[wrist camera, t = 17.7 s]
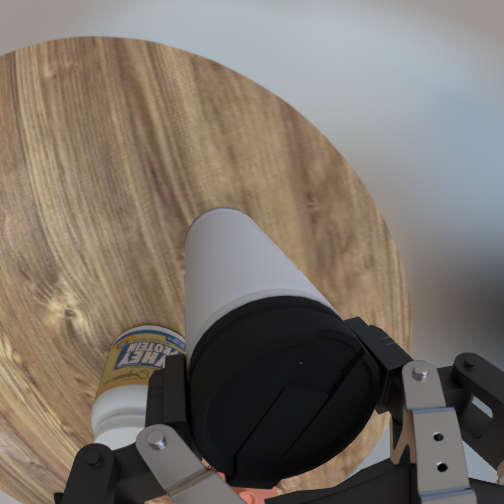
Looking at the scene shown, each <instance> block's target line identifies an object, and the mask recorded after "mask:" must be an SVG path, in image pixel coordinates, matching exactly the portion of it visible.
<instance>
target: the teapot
mask: <svg viewBox="0 0 504 504" xmlns="http://www.w3.org/2000/svg"><path fill="white" fill-rule="evenodd" d="M217 473H218V474H219V475H220V477H221V478H222V479H223V480H224V481H225V476H224V474H223V473H221V472H217ZM225 482H226V481H225ZM231 488H232V489H233V490H234V491H235V492H236V493H237V494H238V495H239V496H240V497H242V498H243V499H244V500H245V501H246V502H247V503H248V504H265V503H264V499H267V498H271V497H275V496H278V493H277V490H276V487H273V488H272V489H271V490H269V489H251V488H240V487H231Z"/></svg>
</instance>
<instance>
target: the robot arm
mask: <svg viewBox="0 0 504 504" xmlns="http://www.w3.org/2000/svg"><path fill="white" fill-rule="evenodd" d="M344 322H345V323H346V325H347V326H348V327H349V328H350V329H351V330H352V331H353V332H354V333H355V335H356V336H357V337H358V339H359V340H360V341H361V343H362V344H363V345H364V347H365V348H366V350H367V351H368V352H369V354H370V355H371V356H372V358H373V359H374V360H375V361H376V362H377V364H378V368H379V373H380V391H379V396H378V400H377V404H376V406H375V408H374V409H375V410H376V412H377V413H378V415H379V414H382V413H384V412H387V411H389V412H390V414H391V417H390V458H388V459H386V460H384V461H381V462H379V463H377V464H374V465H372V466H369V467H367V468H365V469H362V470H360V471H359V472H357V473H356V474H354V475H353V476H351V477H350V478H348V479H347V480H345V481H343V482H342V483H340V484H339V485H337V486H335V487H332V488H325V489H316V490H304V491H295V492H292V493H288V494H284V495H280V496H275V497H271V498H267V499H264V503H265V504H504V372H503V371H501V370H500V369H498V368H497V367H496V366H494V365H493V364H491V363H489V362H488V361H486V360H485V359H484V358H482V357H481V356H479V355H477V354H474V353H462V354H459V355H458V356H457V357H456V358H455V361H454V364H453V366H448V367H442V368H436V367H435V366H434V365H432V364H431V363H429V362H427V361H422V360H413V359H412V358H411V357H410V356H409V355H408V354H407V353H406V352H405V351H404V350H403V349H402V348H401V347H400V346H399V345H398V344H397V343H395V341H394V340H393V339H392V338H391V337H390V338H389V336H388V335H387V334H386V333H385V332H384V331H383V330H382V329H380V328H378V327H376V326H374V325H369V326H368V325H367V324H366V323H365V322H364V321H363V320H362V319H361V318H360V317H354V318H351V319H347V320H344ZM474 396H475V397H477V398H478V399H479V400H480V401H482V402H483V403H485V404H486V405H487V406H488V407H489V408H490V409H491V410H492V414H493V417H492V418H490V417H489V416H488V415H487V414H485V413H484V412H483V411H482V410H481V409H479V408H478V407H477V406H476V405H474V404H473V403H472V401H473V399H474ZM462 440H463V441H464V442H466V443H467V444H468V445H469V446H470V447H471V448H472V449H474V451H475V452H477V453H478V454H479V455H480V456H481V457H482V458H483V459H484V460H485V461H486V462H488V463H489V464H490V465H491V466H492V467H493V468H494V469H495V470H496V471H497V475H498V480H497V484H496V483H491V482H486V481H481V480H478V479H473V478H469V477H468V472H467V466H466V460H465V454H464V448H463V443H462ZM201 461H202V456H201V454H200V453H199V451H198V449H197V447H196V445H195V441H194V436H193V431H192V419H191V406H190V386H189V382H188V377H187V361H186V357H185V354H184V353H181V354H174V355H167V356H165V369H159V370H154V372H153V373H152V375H151V376H150V378H149V381H148V391H147V403H146V415H145V428H144V429H143V430H142V431H141V432H140V433H139V434H138V435H137V437H136V441H135V442H134V443H132V444H130V445H128V446H125V447H122V448H118V449H115V450H111V449H110V448H109V447H108V446H106V445H104V444H101V443H92V444H89V445H86V446H85V447H83V448H82V449H80V450H79V452H78V453H77V455H76V457H75V460H74V463H73V466H72V469H71V472H70V475H69V478H68V481H67V484H66V487H65V491H64V494H63V497H62V500H61V504H144V502H145V501H148V500H151V499H154V498H157V497H160V496H163V495H166V494H168V496H169V497H170V498H171V500H172V501H173V503H174V504H248V503H247V502H246V501H245V500H244V499H243V498H242V497H240V496H239V495H238V494H237V493H236V492H235V491H234V490H233V489H232V488H231V487H230V486H229V485H228V484H227V483H226V482H225V481H224V480H223V479H222V478H221V477H220V475H219V474H218V473H217V472H215V471H214V470H213V469H211V468H210V469H208V468H207V467H206V466H205V465H204V464H203V463H202V462H201Z"/></svg>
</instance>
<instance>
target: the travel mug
mask: <svg viewBox="0 0 504 504" xmlns="http://www.w3.org/2000/svg"><path fill="white" fill-rule="evenodd" d="M185 334H186V360H187V377H188V382H189V386H190V406H191V419H192V431H193V436H194V441H195V445H196V447H197V449H198V451H199V453H200V454H201V456H202V457H203V458H204V459H205V460H206V461H207V462H208V463H209V464H210V465H211V466H212V467H213V468H215V469H216V470H218V471H220V472H221V473H223V474H224V476H225V481H226V483H227V484H228V485H229V486H230V487H240V488H251V489H269V490H271V489H272V488H273V487H275V486H276V485H277V484H278V483H279V482H280V481H281V479H286V478H290V477H293V476H297V475H300V474H303V473H305V472H308V471H310V470H313V469H315V468H317V467H318V466H320V465H322V464H324V463H326V462H328V461H329V460H331V459H332V458H333V457H335V456H336V455H338V454H339V453H340V452H342V451H343V450H344V449H345V448H346V447H347V446H348V445H349V444H350V443H352V442H353V440H354V439H355V438H356V437H357V436H358V435H359V433H360V432H361V431H362V430H363V428H364V427H365V425H366V424H367V422H368V421H369V419H370V417H371V415H372V413H373V411H374V408H375V406H376V404H377V400H378V396H379V391H380V373H379V368H378V364H377V362H376V361H375V360H374V359H373V358H372V356H371V355H370V354H369V352H368V351H367V350H366V348H365V347H364V345H363V344H362V343H361V341H360V340H359V339H358V337H357V336H356V335H355V333H354V332H353V331H352V330H351V329H350V328H349V327H348V326H347V325H346V323H345V322H344V320H343V319H342V317H341V315H340V314H339V313H338V312H337V311H336V310H335V309H334V308H333V307H332V306H331V304H330V303H329V302H328V301H327V300H326V299H325V298H324V297H323V296H322V294H321V293H320V292H319V291H318V290H317V289H316V288H315V287H314V286H313V285H312V284H311V282H310V281H309V280H308V279H307V278H306V277H305V276H304V275H303V274H302V273H301V272H300V271H299V269H298V268H297V267H296V266H295V265H294V264H293V263H292V262H291V261H290V260H289V259H288V258H287V256H286V255H285V254H284V253H283V252H282V251H281V250H280V249H279V248H278V247H277V246H276V245H275V244H274V243H273V241H272V240H271V239H270V238H269V237H268V236H267V235H266V234H265V233H264V232H263V231H262V230H261V229H260V228H259V227H258V226H257V224H256V223H255V222H254V221H253V220H252V219H251V218H250V217H249V216H248V215H247V214H245V213H243V212H242V211H240V210H238V209H235V208H231V207H216V208H212V209H209V210H207V211H205V212H203V213H202V214H201V215H199V216H198V217H197V218H196V219H195V220H194V221H193V222H192V224H191V226H190V227H189V229H188V232H187V235H186V241H185Z"/></svg>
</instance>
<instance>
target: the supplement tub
mask: <svg viewBox="0 0 504 504" xmlns="http://www.w3.org/2000/svg"><path fill="white" fill-rule="evenodd" d="M181 353H184V354H185V357H186V340H185V339H183V338H182V337H181V336H180V335H178V334H177V333H175V332H173V331H171V330H169V329H166V328H163V327H159V326H152V325H145V326H139V327H135V328H132V329H130V330H128V331H126V332H124V333H123V334H122V335H120V336H119V337H118V338H117V339H116V340H115V342H114V343H113V344H112V346H111V348H110V351H109V355H108V358H107V361H106V364H105V367H104V371H103V374H102V377H101V380H100V384H99V387H98V390H97V394H96V397H95V401H94V404H93V407H92V410H91V425H92V429H93V431H94V443H101V444H104V445H106V446H108V447H109V448H110V449H111V450H115V449H118V448H122V447H125V446H128V445H130V444H132V443H134V442H135V441H136V437H137V435H138V434H139V433H140V432H141V431H142V430H143V429H144V428H145V415H146V403H147V391H148V381H149V378H150V376H151V375H152V373H153V372H154V370H159V369H165V356H167V355H174V354H181ZM186 361H187V360H186Z"/></svg>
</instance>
